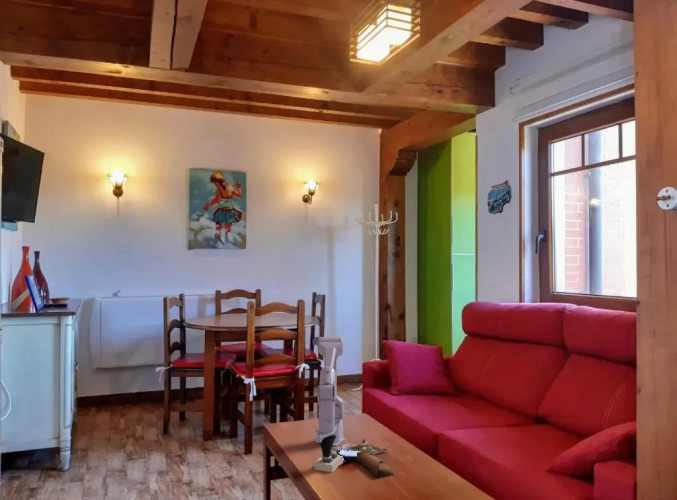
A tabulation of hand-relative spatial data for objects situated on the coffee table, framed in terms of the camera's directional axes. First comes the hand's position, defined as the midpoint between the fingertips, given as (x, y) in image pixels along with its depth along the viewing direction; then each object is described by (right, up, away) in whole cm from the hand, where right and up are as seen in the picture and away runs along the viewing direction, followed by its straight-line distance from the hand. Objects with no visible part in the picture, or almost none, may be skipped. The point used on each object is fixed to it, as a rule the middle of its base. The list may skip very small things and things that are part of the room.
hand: (326, 456), depth 193 cm
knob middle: (+2, -4, +4) cm, 6 cm away
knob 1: (0, -4, 0) cm, 3 cm away
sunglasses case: (+17, -5, 0) cm, 18 cm away
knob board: (+2, -4, +4) cm, 6 cm away
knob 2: (+3, -4, +8) cm, 10 cm away
